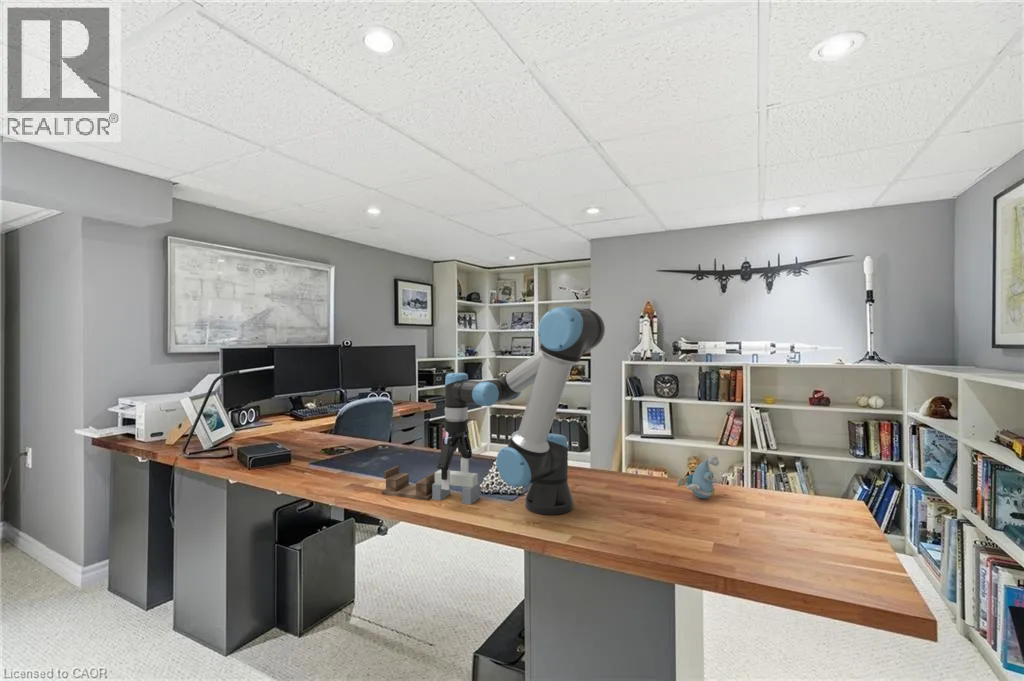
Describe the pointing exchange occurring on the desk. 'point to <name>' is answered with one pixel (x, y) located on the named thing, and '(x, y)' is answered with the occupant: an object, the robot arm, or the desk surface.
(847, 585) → the desk surface
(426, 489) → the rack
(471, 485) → the pale grey long block
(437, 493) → the blocks
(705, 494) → the toy figure
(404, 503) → the desk surface
